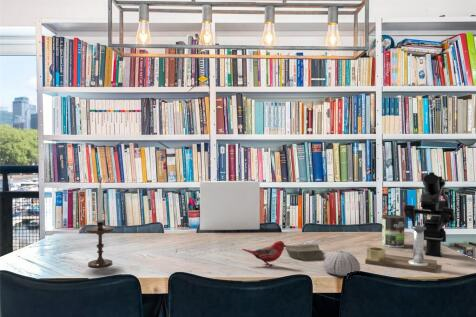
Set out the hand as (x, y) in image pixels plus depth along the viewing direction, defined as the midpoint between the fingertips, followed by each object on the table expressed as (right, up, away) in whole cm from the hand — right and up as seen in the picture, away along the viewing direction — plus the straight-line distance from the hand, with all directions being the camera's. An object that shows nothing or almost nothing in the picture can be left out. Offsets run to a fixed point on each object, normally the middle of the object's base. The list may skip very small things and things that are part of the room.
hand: (425, 229), depth 157 cm
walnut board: (-11, -14, -2) cm, 17 cm away
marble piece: (-47, -14, +11) cm, 50 cm away
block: (-81, -13, +74) cm, 111 cm away
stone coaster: (-6, -12, -7) cm, 15 cm away
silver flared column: (-6, -11, -7) cm, 15 cm away
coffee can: (-1, -14, +31) cm, 34 cm away
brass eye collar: (-20, -12, 0) cm, 23 cm away
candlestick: (-131, -14, -4) cm, 131 cm away
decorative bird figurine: (-66, -14, -5) cm, 67 cm away
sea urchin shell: (-38, -14, -14) cm, 42 cm away
